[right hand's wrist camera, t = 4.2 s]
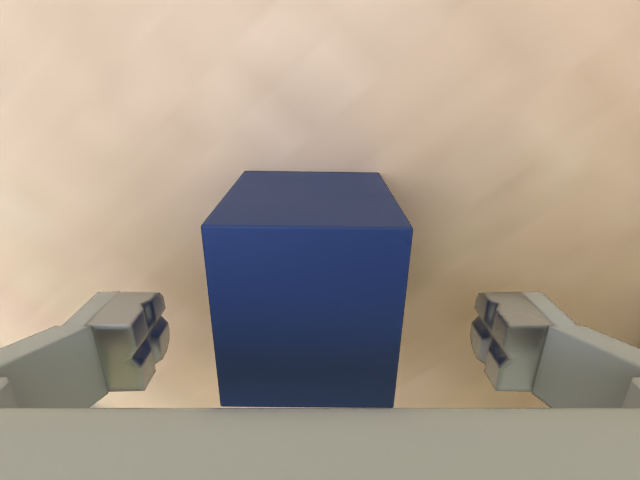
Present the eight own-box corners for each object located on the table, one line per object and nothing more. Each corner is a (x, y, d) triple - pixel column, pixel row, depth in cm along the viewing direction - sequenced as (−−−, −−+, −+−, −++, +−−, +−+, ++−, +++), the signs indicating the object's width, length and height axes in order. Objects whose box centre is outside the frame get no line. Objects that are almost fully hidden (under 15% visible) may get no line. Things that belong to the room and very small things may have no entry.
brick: (244, 170, 12) (200, 225, 8) (379, 172, 12) (413, 227, 8) (252, 301, 14) (220, 407, 10) (370, 302, 14) (393, 409, 10)
